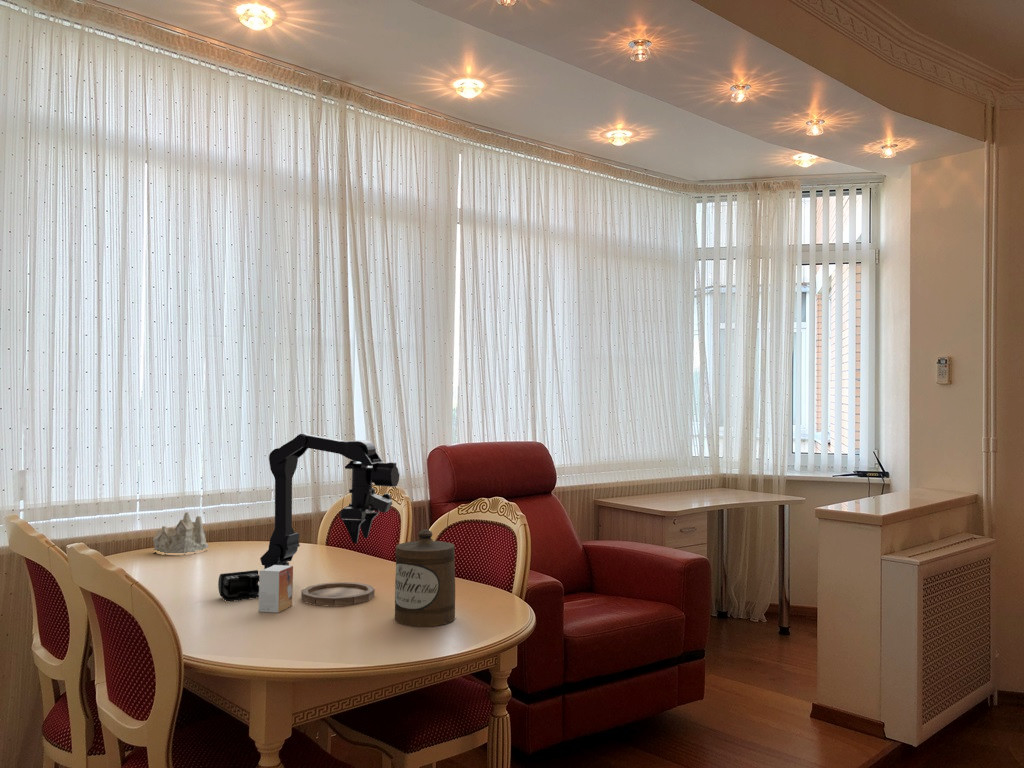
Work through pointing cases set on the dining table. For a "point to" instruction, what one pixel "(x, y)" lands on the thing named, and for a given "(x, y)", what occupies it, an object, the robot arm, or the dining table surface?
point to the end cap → (239, 585)
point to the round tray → (337, 593)
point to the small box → (275, 588)
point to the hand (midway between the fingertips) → (360, 540)
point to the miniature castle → (181, 537)
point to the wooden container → (425, 582)
